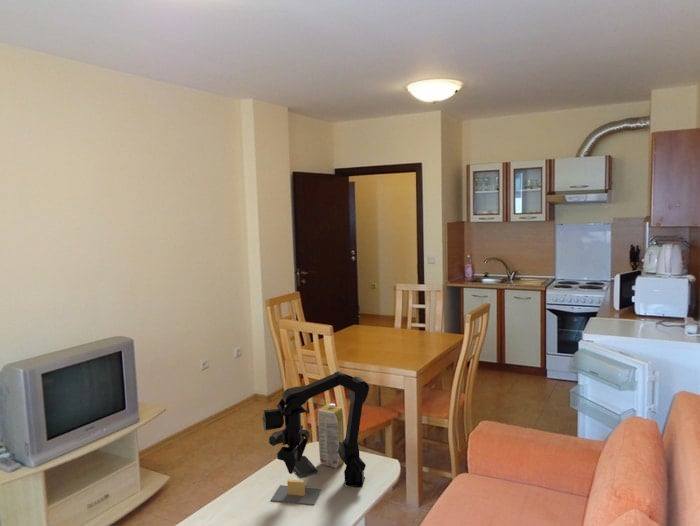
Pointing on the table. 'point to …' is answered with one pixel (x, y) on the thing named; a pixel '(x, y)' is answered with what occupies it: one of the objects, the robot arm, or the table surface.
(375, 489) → the table surface
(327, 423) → the juice carton
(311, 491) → the charcoal mat
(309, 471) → the phone
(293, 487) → the ochre block
